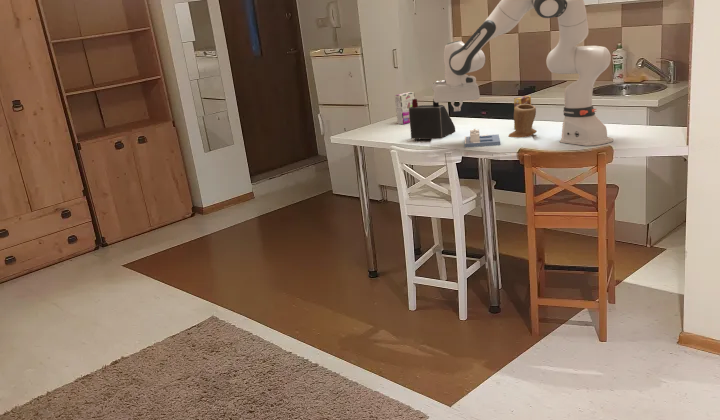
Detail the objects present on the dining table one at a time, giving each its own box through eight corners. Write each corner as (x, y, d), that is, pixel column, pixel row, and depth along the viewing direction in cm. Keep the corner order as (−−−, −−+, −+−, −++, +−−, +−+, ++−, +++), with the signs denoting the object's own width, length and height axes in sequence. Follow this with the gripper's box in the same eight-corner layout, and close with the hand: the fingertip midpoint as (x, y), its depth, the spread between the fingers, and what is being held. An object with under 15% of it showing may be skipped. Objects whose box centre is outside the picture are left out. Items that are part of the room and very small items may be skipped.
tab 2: (479, 143, 289) (479, 131, 287) (479, 144, 286) (479, 132, 285) (470, 143, 289) (469, 132, 288) (470, 145, 287) (469, 133, 285)
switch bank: (498, 140, 298) (498, 133, 297) (500, 148, 283) (500, 141, 282) (465, 143, 300) (464, 136, 299) (465, 150, 285) (464, 143, 284)
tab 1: (479, 139, 296) (479, 128, 295) (479, 140, 293) (479, 129, 292) (470, 140, 297) (470, 128, 296) (470, 141, 294) (470, 130, 293)
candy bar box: (410, 120, 376) (408, 91, 371) (417, 121, 372) (414, 92, 367) (396, 124, 369) (394, 94, 364) (403, 124, 365) (400, 95, 360)
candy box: (521, 130, 316) (520, 98, 312) (514, 129, 319) (513, 98, 315) (532, 126, 322) (531, 95, 317) (524, 126, 325) (523, 95, 320)
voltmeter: (455, 134, 323) (453, 93, 317) (442, 141, 309) (439, 99, 304) (425, 134, 331) (422, 94, 325) (411, 141, 318) (408, 99, 312)
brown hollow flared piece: (530, 141, 291) (529, 107, 287) (505, 140, 298) (504, 107, 294) (543, 134, 302) (542, 101, 298) (519, 133, 309) (518, 101, 305)
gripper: (431, 82, 287) (433, 113, 291) (479, 78, 283) (480, 110, 287) (431, 80, 293) (434, 111, 297) (478, 76, 289) (480, 108, 293)
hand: (457, 111), depth 292 cm, fingers closed
